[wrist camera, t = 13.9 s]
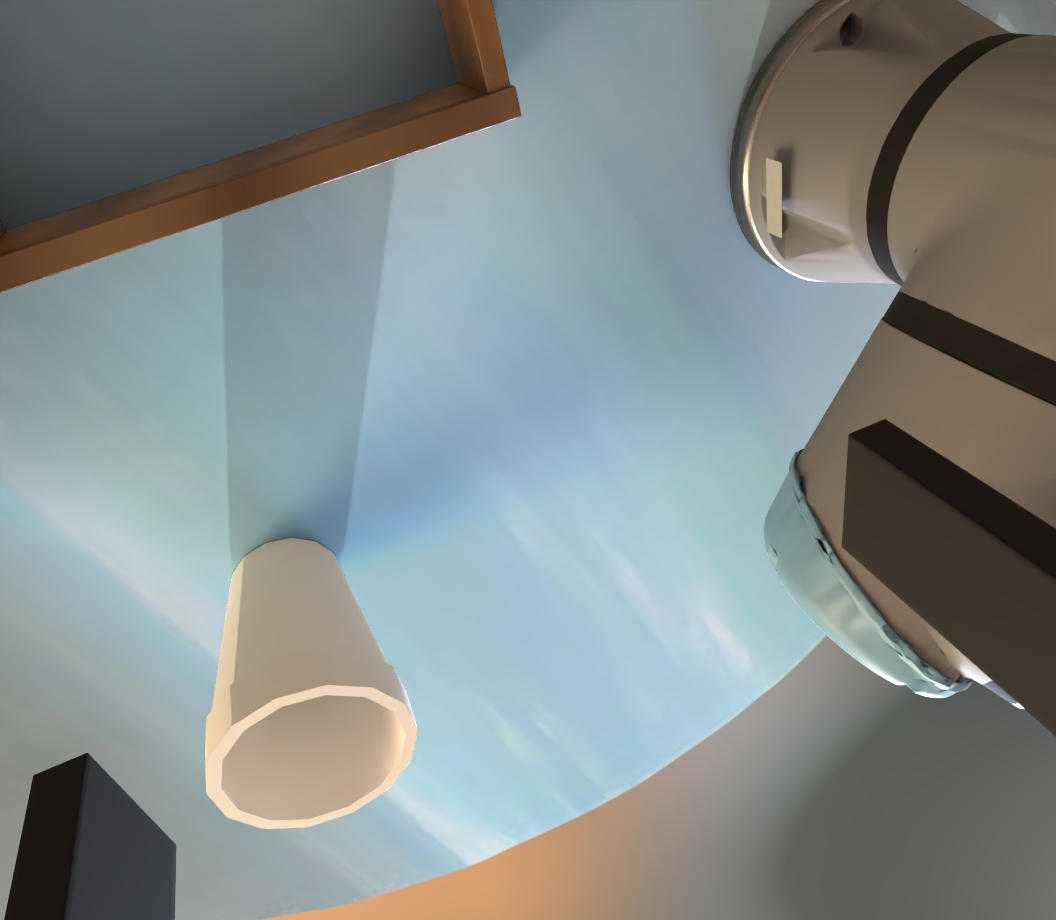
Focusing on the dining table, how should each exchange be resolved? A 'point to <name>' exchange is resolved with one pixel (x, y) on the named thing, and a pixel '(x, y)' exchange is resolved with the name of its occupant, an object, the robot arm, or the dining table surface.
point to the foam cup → (301, 696)
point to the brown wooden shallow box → (278, 162)
